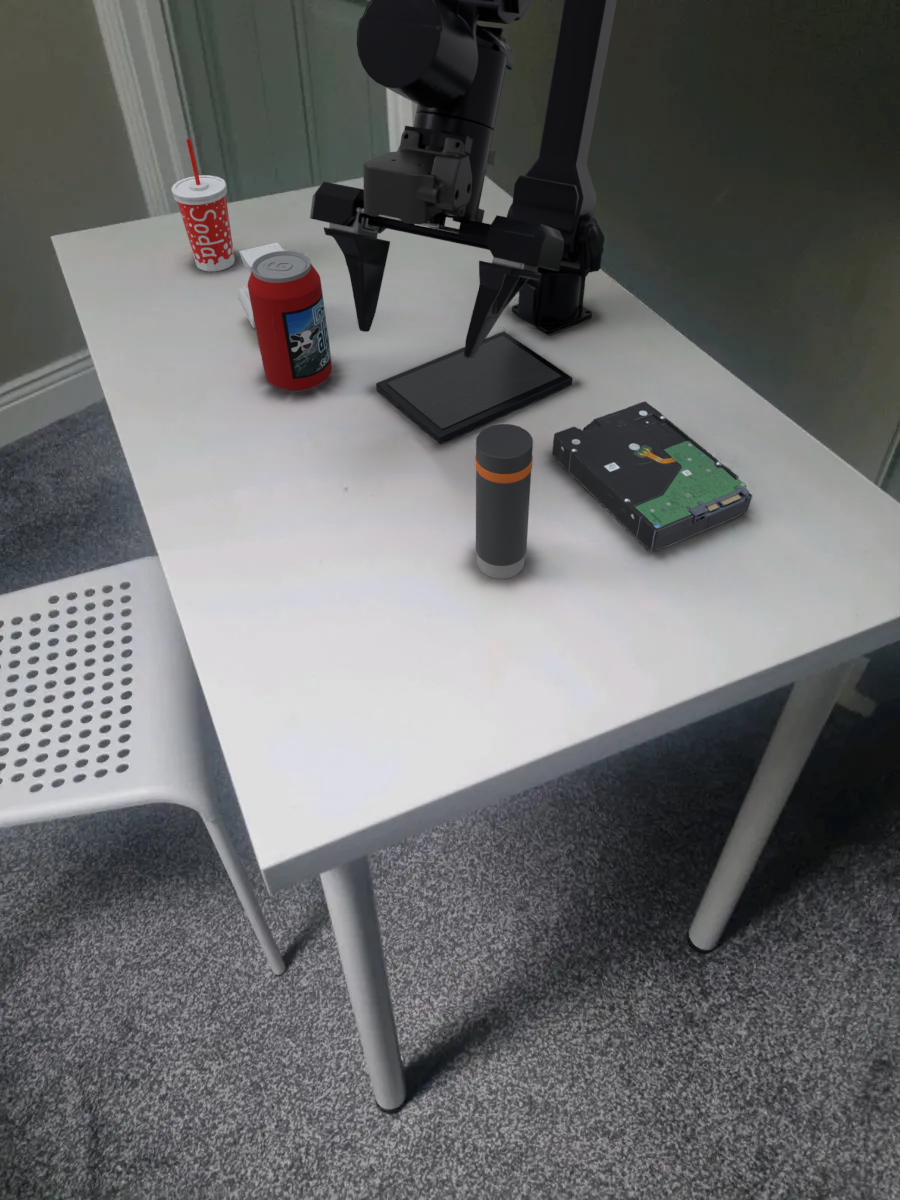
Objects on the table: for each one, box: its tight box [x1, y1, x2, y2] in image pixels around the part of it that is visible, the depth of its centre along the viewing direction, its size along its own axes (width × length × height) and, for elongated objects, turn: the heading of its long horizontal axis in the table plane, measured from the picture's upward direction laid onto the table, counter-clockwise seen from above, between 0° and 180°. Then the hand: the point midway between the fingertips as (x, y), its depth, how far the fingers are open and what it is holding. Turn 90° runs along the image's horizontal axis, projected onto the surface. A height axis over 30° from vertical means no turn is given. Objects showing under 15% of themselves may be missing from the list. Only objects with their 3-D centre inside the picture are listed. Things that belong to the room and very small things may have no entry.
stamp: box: [237, 242, 285, 331], centre depth 94 cm, size 9×7×8 cm
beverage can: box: [247, 250, 333, 392], centre depth 86 cm, size 7×7×12 cm
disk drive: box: [551, 401, 753, 552], centre depth 77 cm, size 10×3×15 cm
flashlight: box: [474, 423, 534, 580], centre depth 67 cm, size 4×4×12 cm
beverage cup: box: [170, 137, 236, 272], centre depth 102 cm, size 6×6×14 cm
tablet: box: [375, 330, 573, 445], centre depth 88 cm, size 16×11×1 cm
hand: (415, 344), depth 70 cm, fingers open, 9 cm apart
